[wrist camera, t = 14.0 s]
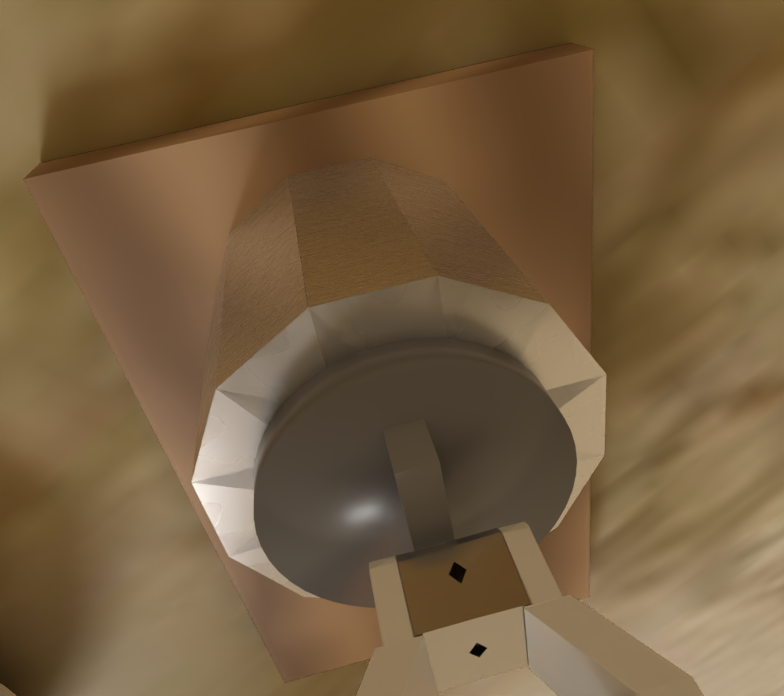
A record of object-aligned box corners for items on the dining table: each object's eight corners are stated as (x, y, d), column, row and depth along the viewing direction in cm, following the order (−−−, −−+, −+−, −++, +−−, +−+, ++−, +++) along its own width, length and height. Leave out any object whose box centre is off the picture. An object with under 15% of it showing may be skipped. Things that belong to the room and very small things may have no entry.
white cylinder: (264, 436, 23) (269, 637, 16) (173, 202, 18) (126, 353, 11) (502, 374, 23) (601, 544, 16) (479, 130, 18) (609, 232, 11)
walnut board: (283, 654, 32) (284, 683, 31) (39, 163, 18) (23, 179, 17) (576, 572, 33) (589, 596, 32) (571, 43, 19) (593, 49, 17)
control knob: (294, 512, 18) (307, 688, 14) (214, 312, 14) (198, 470, 10) (520, 450, 18) (602, 603, 14) (500, 240, 15) (605, 362, 10)
